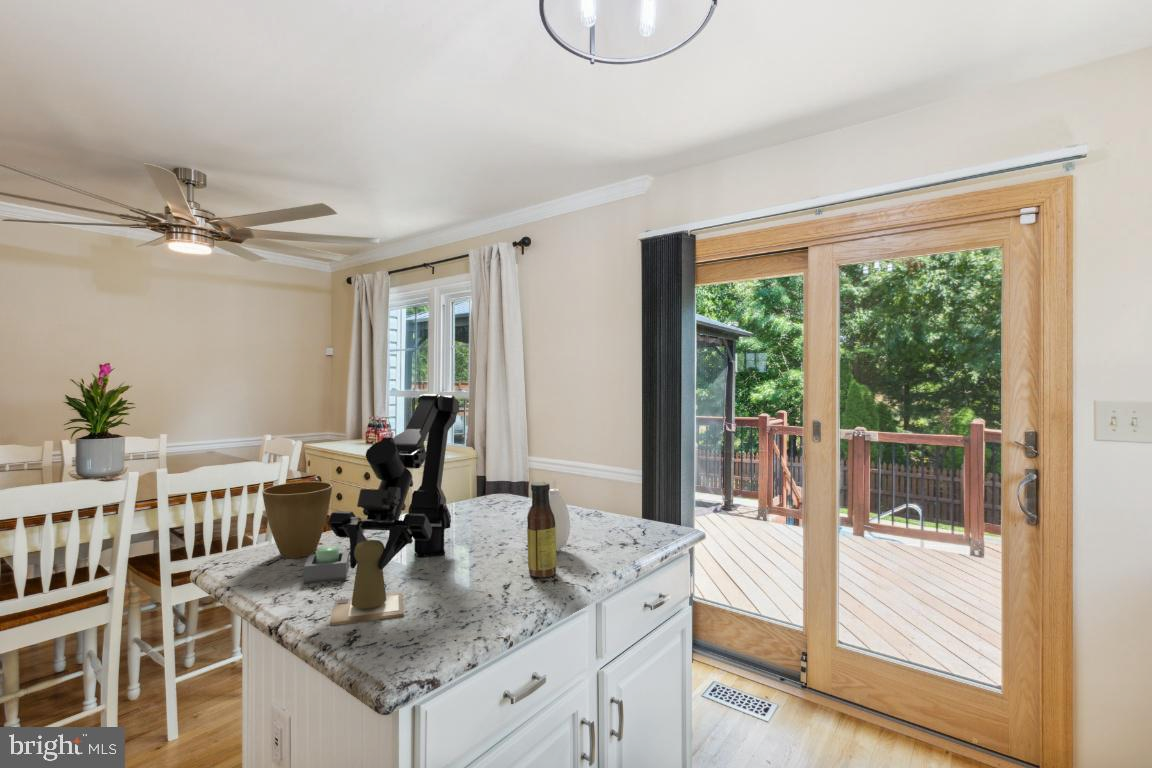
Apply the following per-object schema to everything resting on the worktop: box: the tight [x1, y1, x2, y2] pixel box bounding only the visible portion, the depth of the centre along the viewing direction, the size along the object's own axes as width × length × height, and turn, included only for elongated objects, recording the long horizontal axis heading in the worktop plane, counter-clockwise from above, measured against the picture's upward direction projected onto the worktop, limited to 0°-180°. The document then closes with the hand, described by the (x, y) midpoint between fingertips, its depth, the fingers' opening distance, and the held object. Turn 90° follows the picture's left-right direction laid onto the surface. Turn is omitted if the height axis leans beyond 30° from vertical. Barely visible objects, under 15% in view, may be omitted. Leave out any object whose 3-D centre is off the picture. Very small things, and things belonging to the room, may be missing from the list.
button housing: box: [303, 550, 350, 584], centre depth 115 cm, size 8×8×4 cm
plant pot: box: [261, 481, 333, 559], centre depth 128 cm, size 15×15×16 cm
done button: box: [315, 545, 340, 564], centre depth 115 cm, size 4×4×3 cm
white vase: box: [549, 479, 571, 552], centre depth 133 cm, size 8×8×18 cm
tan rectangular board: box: [329, 591, 405, 626], centre depth 98 cm, size 12×10×1 cm
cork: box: [351, 539, 387, 608], centre depth 98 cm, size 6×6×11 cm
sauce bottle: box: [526, 481, 558, 579], centre depth 117 cm, size 7×6×20 cm
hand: (366, 568), depth 97 cm, fingers closed on cork, 5 cm apart
